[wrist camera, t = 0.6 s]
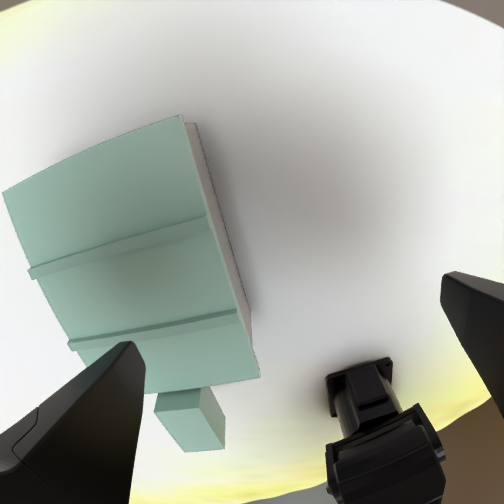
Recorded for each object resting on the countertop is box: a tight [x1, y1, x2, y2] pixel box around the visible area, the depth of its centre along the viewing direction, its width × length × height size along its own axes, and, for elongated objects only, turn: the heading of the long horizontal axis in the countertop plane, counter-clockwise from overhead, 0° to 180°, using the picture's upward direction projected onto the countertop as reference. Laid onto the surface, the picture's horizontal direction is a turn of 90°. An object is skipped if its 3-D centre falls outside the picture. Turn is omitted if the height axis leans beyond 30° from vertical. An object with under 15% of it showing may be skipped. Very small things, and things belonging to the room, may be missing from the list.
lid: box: [2, 115, 260, 452], centre depth 16 cm, size 20×11×3 cm, turn 14°
